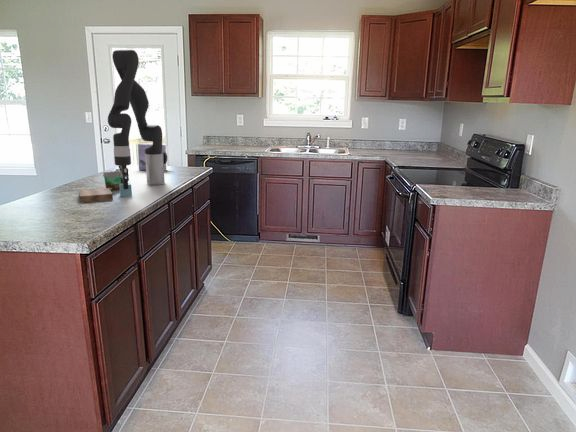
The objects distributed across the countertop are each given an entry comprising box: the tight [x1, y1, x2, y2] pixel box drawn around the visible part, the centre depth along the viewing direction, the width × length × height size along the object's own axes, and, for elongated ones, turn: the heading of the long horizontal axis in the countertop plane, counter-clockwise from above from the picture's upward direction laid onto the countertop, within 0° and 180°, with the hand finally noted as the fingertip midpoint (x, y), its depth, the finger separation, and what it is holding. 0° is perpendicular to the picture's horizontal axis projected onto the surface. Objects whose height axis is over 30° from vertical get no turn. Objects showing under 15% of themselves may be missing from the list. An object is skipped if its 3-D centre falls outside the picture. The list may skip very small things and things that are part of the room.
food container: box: [102, 168, 121, 192], centre depth 224 cm, size 12×6×10 cm, turn 168°
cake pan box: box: [137, 143, 168, 171], centre depth 286 cm, size 19×5×18 cm, turn 84°
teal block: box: [119, 182, 133, 198], centre depth 210 cm, size 5×5×6 cm
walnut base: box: [78, 188, 114, 203], centre depth 204 cm, size 14×14×3 cm
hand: (124, 187), depth 210 cm, fingers open, 8 cm apart
